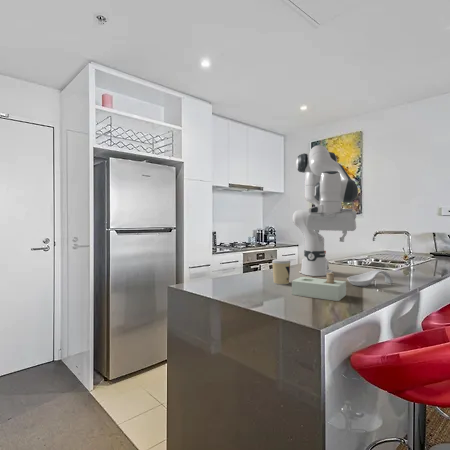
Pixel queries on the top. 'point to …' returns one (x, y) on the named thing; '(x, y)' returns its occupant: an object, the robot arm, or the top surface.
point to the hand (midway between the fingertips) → (330, 241)
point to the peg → (330, 278)
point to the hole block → (319, 288)
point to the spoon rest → (368, 278)
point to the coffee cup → (281, 271)
